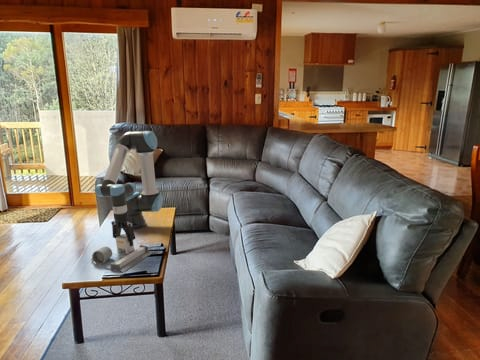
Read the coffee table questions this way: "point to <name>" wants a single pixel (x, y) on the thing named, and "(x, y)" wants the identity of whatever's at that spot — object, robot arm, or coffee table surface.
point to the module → (122, 243)
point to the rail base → (130, 259)
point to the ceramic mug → (101, 255)
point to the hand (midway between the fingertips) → (125, 250)
